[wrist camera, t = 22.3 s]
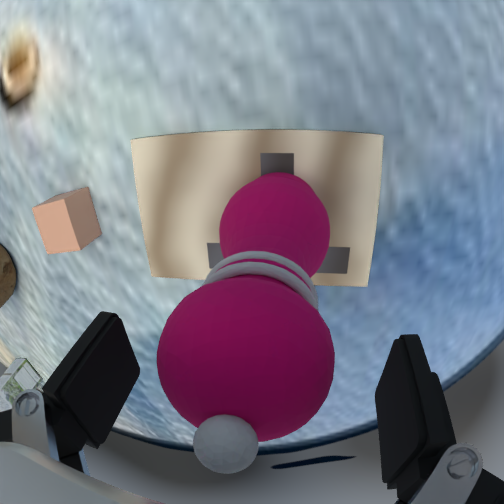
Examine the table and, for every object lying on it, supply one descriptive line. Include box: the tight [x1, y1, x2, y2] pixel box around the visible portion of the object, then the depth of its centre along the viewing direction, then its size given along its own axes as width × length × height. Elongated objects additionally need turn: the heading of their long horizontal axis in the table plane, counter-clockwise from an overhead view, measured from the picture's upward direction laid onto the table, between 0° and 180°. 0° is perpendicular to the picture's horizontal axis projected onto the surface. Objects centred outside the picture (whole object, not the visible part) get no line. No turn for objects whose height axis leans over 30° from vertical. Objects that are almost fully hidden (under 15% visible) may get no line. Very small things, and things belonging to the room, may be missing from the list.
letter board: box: [131, 129, 383, 287], centre depth 25 cm, size 20×13×1 cm, turn 92°
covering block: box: [32, 187, 102, 254], centre depth 26 cm, size 5×5×4 cm
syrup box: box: [0, 359, 42, 412], centre depth 39 cm, size 6×6×14 cm
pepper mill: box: [157, 172, 335, 473], centre depth 15 cm, size 7×7×20 cm
